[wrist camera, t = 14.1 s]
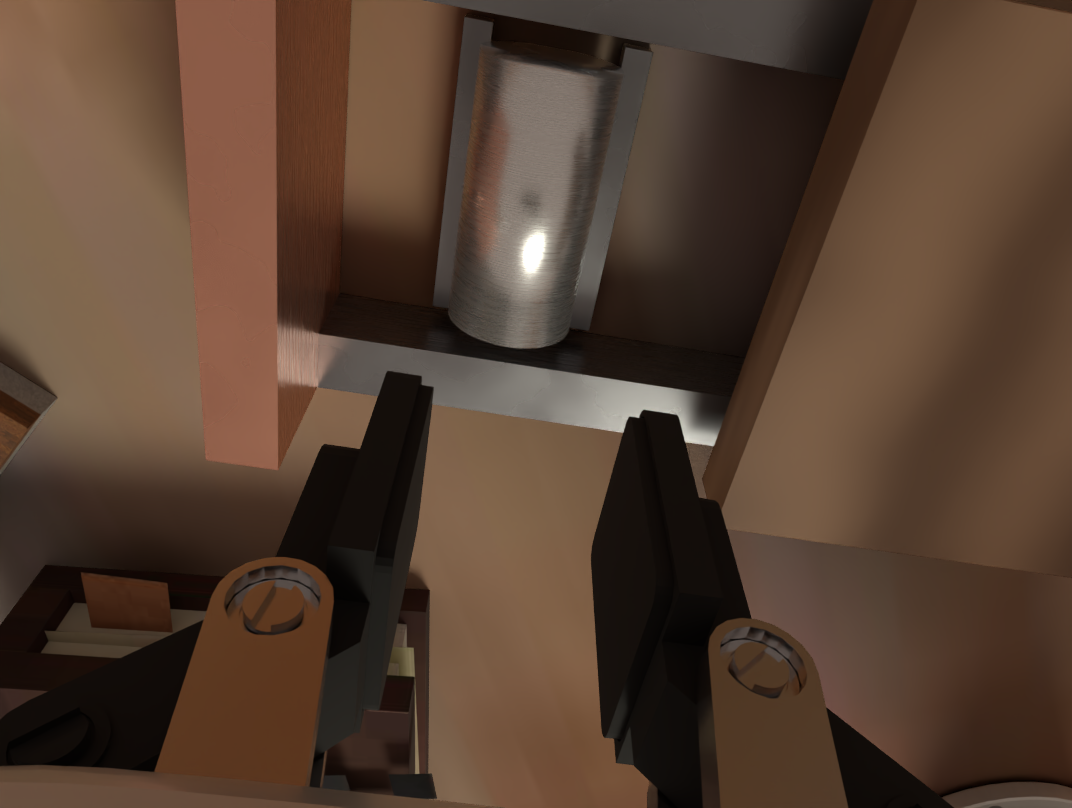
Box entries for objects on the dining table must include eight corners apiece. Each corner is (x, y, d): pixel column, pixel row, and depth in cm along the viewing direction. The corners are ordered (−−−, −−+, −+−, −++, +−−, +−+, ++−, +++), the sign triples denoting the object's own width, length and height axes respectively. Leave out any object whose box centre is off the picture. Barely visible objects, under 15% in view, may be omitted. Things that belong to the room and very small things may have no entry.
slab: (1351, 68, 19) (1444, 89, 17) (1041, 528, 27) (1080, 579, 25) (882, -26, 19) (923, -16, 16) (702, 479, 27) (714, 527, 24)
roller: (629, 63, 23) (617, 86, 20) (576, 306, 28) (559, 359, 24) (497, 34, 24) (463, 53, 20) (465, 280, 28) (432, 329, 25)
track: (1246, 65, 23) (1503, 129, 17) (1014, 447, 31) (1133, 590, 25) (280, -127, 21) (165, -135, 15) (281, 335, 29) (205, 460, 22)
